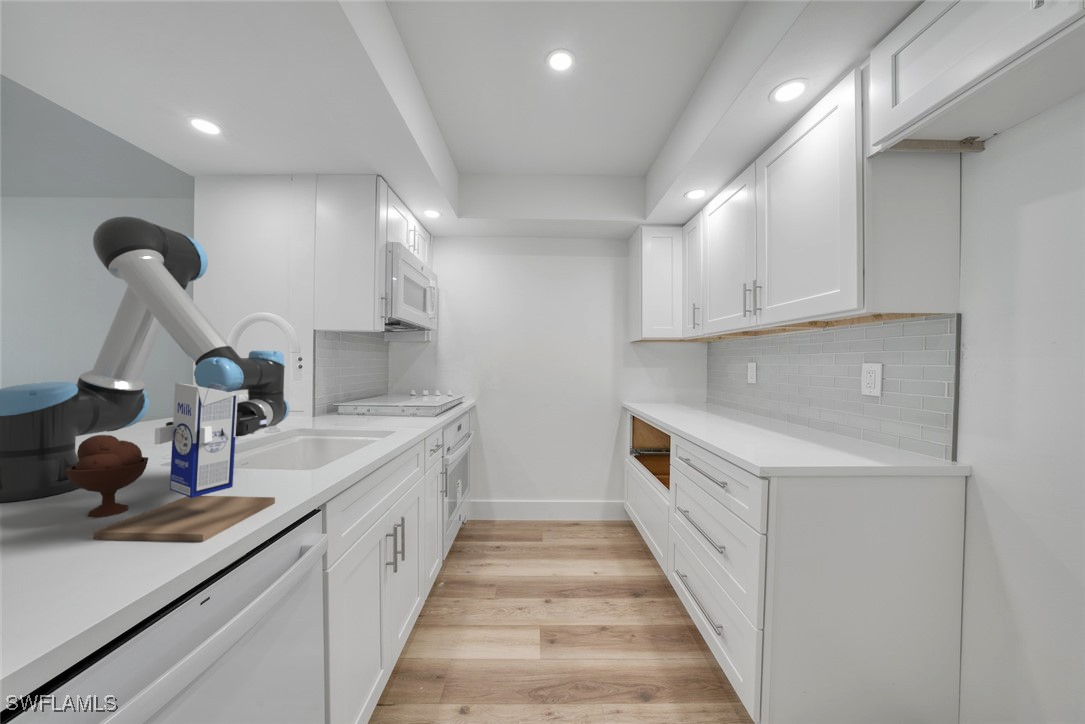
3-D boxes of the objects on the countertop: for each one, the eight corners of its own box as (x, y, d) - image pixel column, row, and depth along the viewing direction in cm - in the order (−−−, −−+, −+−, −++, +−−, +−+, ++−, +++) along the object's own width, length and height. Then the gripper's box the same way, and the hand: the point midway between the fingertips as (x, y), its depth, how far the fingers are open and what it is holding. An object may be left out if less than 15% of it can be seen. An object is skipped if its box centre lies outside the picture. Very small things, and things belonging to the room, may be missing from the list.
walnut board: (93, 539, 66) (93, 531, 66) (188, 501, 84) (188, 495, 84) (203, 541, 66) (203, 534, 66) (274, 503, 84) (275, 497, 84)
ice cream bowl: (94, 526, 71) (96, 441, 71) (48, 519, 73) (50, 437, 73) (162, 505, 81) (164, 431, 81) (120, 500, 84) (121, 428, 83)
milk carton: (169, 489, 74) (174, 381, 73) (211, 479, 80) (216, 379, 79) (191, 498, 71) (197, 385, 70) (233, 487, 77) (239, 383, 76)
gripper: (292, 432, 95) (241, 455, 72) (198, 434, 91) (114, 459, 68) (292, 401, 95) (242, 414, 72) (199, 401, 91) (114, 415, 68)
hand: (180, 436), depth 70 cm, fingers closed on milk carton, 6 cm apart
